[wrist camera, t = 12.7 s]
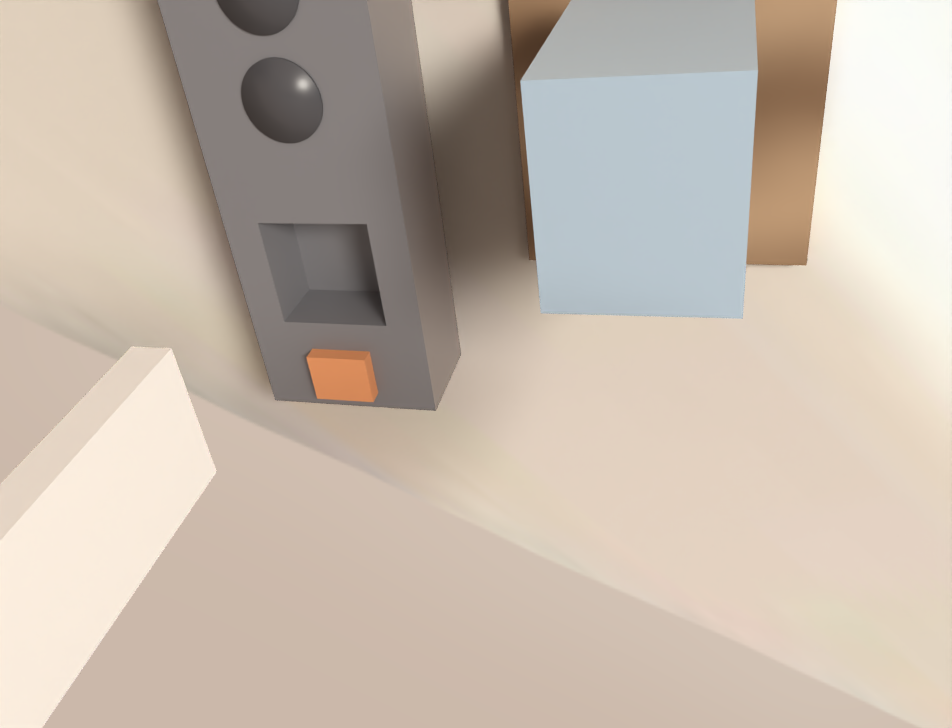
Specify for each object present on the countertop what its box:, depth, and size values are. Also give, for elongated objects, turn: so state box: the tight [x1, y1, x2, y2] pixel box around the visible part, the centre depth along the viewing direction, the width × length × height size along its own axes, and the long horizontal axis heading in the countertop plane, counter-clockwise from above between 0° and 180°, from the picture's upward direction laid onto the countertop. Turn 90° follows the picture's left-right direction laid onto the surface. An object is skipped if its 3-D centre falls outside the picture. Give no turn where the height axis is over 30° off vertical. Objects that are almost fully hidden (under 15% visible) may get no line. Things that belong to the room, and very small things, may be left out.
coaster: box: [508, 0, 837, 265], centre depth 29 cm, size 14×10×1 cm
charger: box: [520, 0, 758, 319], centre depth 25 cm, size 6×5×10 cm
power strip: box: [157, 0, 461, 411], centre depth 29 cm, size 29×7×5 cm, turn 6°
